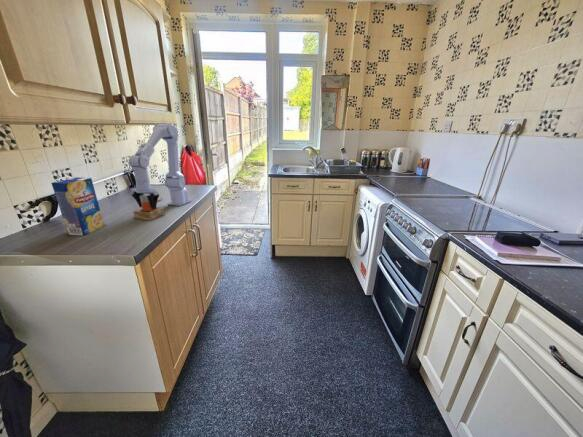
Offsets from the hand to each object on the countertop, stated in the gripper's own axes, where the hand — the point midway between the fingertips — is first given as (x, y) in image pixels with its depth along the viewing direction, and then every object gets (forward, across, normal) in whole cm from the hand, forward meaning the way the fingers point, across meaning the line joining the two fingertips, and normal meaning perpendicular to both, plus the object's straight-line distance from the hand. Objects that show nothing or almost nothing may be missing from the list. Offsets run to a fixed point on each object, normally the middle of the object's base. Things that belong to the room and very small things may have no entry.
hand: (148, 207), depth 123 cm
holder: (+5, 0, 0) cm, 5 cm away
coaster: (+5, -20, +22) cm, 31 cm away
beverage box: (+5, -12, -22) cm, 26 cm away
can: (+5, 0, 0) cm, 5 cm away
